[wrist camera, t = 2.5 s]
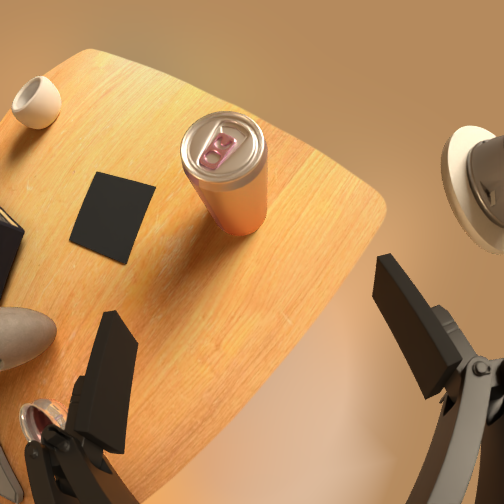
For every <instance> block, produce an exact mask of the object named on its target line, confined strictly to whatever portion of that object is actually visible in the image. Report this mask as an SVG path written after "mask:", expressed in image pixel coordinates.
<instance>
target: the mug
mask: <svg viewBox="0 0 504 504" xmlns="http://www.w3.org/2000/svg"><path fill="white" fill-rule="evenodd" d="M61 106H62V101H61V97H60V94H59V92H58V90H57V88H56V87H55V86H54V84H53V83H52V82H51V81H50V80H48V79H47V78H46V77H43V76H37V77H34V78H33V79H31V80H30V81H28V82H27V83H26V84H25V85H24V86H23V87H22V88H21V89H20V91H19V92H18V93H17V95H16V97H15V98H14V101H13V103H12V112H13V115H14V116H15V117H16V119H17V120H19V121H20V122H21V123H22V124H24V125H26V126H27V127H30V128H33V129H43V128H46V127H47V126H49V125H50V124H51V123H53V121H54V120H55V119H56V118H57V116H58V115H59V113H60V111H61Z"/></svg>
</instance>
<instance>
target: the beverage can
mask: <svg viewBox="0 0 504 504" xmlns="http://www.w3.org/2000/svg"><path fill="white" fill-rule="evenodd" d="M180 155H181V160H182V166H183V169H184V172H185V174H186V175H187V177H188V178H189V180H190V182H191V183H192V185H193V187H194V188H195V190H196V191H197V193H198V195H199V196H200V198H201V199H202V201H203V203H204V204H205V206H206V207H207V209H208V211H209V212H210V214H211V215H212V217H213V219H214V220H215V222H216V223H217V225H218V226H219V227H220V228H221V229H222V230H223V231H224V232H226V233H228V234H230V235H234V236H244V235H248V234H251V233H253V232H254V231H256V230H257V229H258V228H259V227H260V226H261V225H262V224H263V222H264V220H265V218H266V214H267V144H266V141H265V139H264V136H263V133H262V131H261V129H260V127H259V126H258V125H257V124H256V123H255V122H254V121H253V120H252V119H251V118H249V117H247V116H246V115H243V114H241V113H237V112H232V111H221V112H215V113H211V114H208V115H206V116H204V117H202V118H200V119H199V120H197V121H196V122H195V123H193V124H192V125H191V126H190V127H189V129H188V130H187V131H186V133H185V135H184V137H183V139H182V142H181V147H180Z"/></svg>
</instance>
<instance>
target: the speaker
mask: <svg viewBox="0 0 504 504" xmlns="http://www.w3.org/2000/svg"><path fill="white" fill-rule="evenodd" d="M24 233H25V231H24V229H23V228H22V227H21V226H19V225H18V224H17V223H16V222H15V221H14V220H13V219H12V218H11V217H10V216H9V215H8V214H7V213H6V212H5V211H4V210H3V209H2V208H1V207H0V299H1V296H2V292H3V289H4V286H5V283H6V280H7V277H8V274H9V271H10V268H11V265H12V263H13V260H14V257H15V255H16V252H17V250H18V247H19V245H20V242H21V240H22V237H23V235H24Z"/></svg>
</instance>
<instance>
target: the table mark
mask: <svg viewBox="0 0 504 504" xmlns="http://www.w3.org/2000/svg"><path fill="white" fill-rule="evenodd" d="M155 189H156V187H154V186H151V185H147V184H143V183H139V182H136V181H132V180H128V179H124V178H120V177H116V176H113V175H109V174H105V173H101V172H96V174H95V176H94V179H93V181H92V183H91V185H90V187H89V190H88V192H87V194H86V197H85V199H84V202H83V204H82V206H81V209H80V211H79V214H78V217H77V219H76V222H75V225H74V227H73V230H72V233H71V236H70V238H69V240H70V241H73V242H75V243H77V244H79V245H82V246H84V247H86V248H88V249H91V250H93V251H95V252H98V253H100V254H102V255H105V256H107V257H110V258H112V259H114V260H117V261H119V262H122V263H124V264H127V261H128V258H129V255H130V252H131V250H132V247H133V244H134V241H135V239H136V236H137V233H138V231H139V228H140V225H141V223H142V220H143V218H144V215H145V213H146V210H147V208H148V205H149V203H150V200H151V198H152V196H153V193H154V191H155Z"/></svg>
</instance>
